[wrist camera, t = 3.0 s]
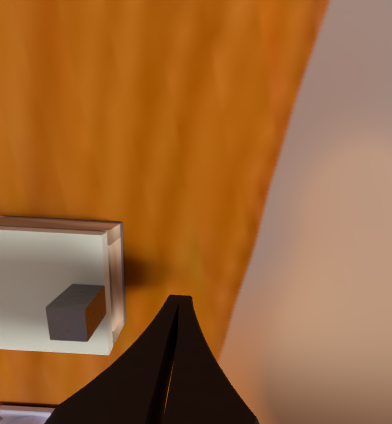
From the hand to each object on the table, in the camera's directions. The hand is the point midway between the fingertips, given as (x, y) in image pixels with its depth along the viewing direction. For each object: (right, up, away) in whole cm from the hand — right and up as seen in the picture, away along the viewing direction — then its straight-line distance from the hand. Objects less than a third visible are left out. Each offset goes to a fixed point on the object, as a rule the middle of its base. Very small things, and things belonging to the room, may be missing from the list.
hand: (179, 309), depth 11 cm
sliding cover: (-9, +1, +1) cm, 9 cm away
